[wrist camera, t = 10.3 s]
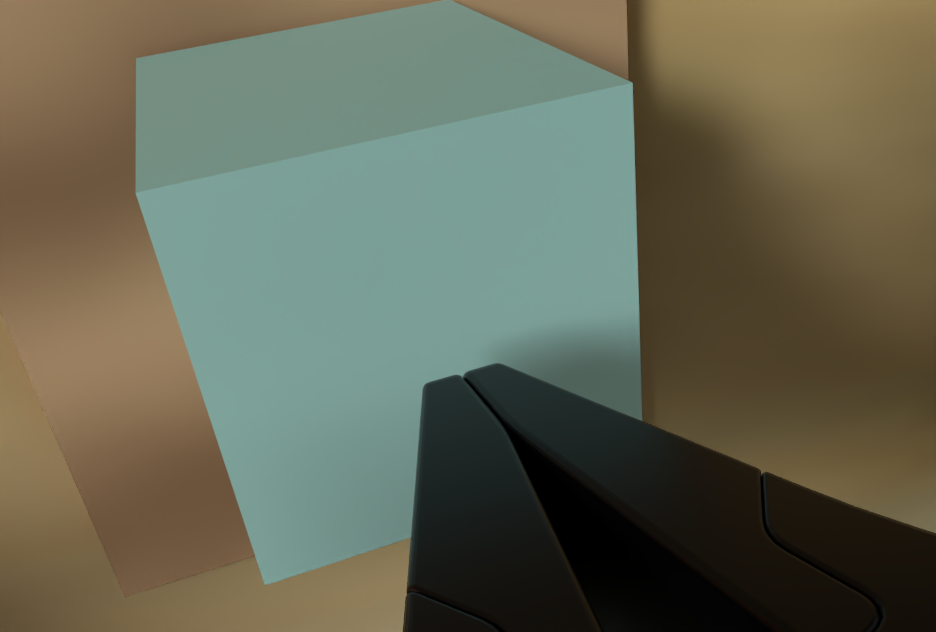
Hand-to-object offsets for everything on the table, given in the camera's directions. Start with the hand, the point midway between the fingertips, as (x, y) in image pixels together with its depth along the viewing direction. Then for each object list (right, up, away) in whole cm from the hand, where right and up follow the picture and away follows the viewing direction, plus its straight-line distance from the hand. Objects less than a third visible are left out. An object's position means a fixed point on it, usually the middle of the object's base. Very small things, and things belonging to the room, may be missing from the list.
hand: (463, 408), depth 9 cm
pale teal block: (-2, +3, +6) cm, 8 cm away
